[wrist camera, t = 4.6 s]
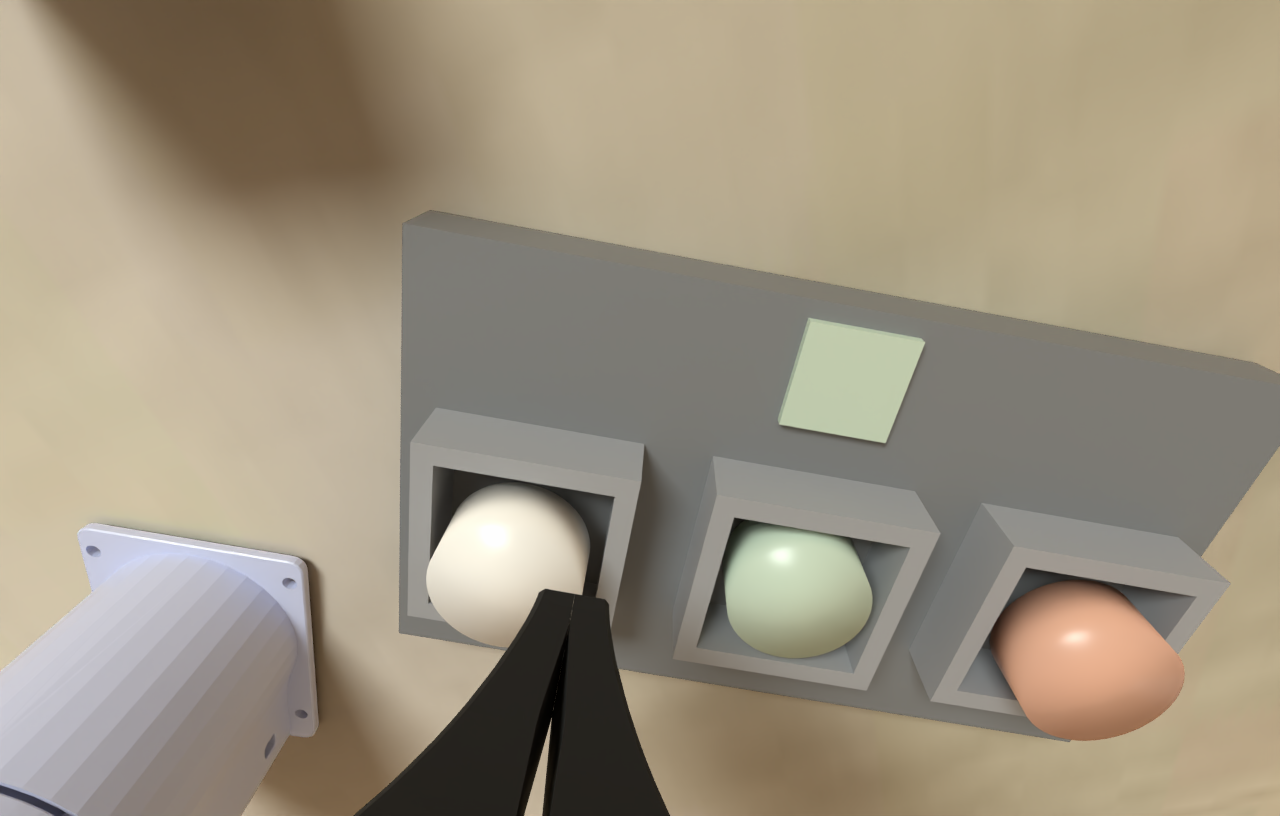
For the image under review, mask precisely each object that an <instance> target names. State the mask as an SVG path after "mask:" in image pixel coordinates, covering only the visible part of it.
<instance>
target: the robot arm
mask: <svg viewBox="0 0 1280 816" xmlns="http://www.w3.org/2000/svg"><path fill="white" fill-rule="evenodd" d="M77 536H78V541H79V545H80V548H81V552H82V556H83V560H84V563H85V567H86V571H87V575H88V578H89V582H90V586H91V589H92V593H91V594H89V595H88V596H87V597H86V598H85V599H84V600H82V601H81V602H80V603H79V604H78V605H77V606H75V607H74V608H73V609H72V610H71V611H70V612H68V613H67V614H66V615H65V616H64V617H63V618H61V619H60V620H59V621H58V622H57V623H56V624H54V625H53V626H52V627H51V628H50V629H49V630H48V631H46V632H45V633H44V634H43V635H42V636H41V637H39V638H38V639H37V640H36V641H35V642H34V643H32V644H31V645H30V646H29V647H28V648H27V649H25V650H24V651H23V652H22V653H21V654H20V655H18V656H17V657H16V658H15V659H14V660H13V661H11V662H10V663H9V664H8V665H7V666H6V667H4V668H3V669H2V670H1V671H0V816H241V815H242V814H243V812H244V810H245V809H246V807H247V805H248V804H249V802H250V800H251V799H252V797H253V795H254V794H255V792H256V790H257V789H258V787H259V785H260V784H261V782H262V780H263V778H264V777H265V775H266V773H267V772H268V770H269V768H270V767H271V765H272V763H273V762H274V760H275V758H276V757H277V755H278V753H279V752H280V750H281V748H282V747H283V745H284V743H285V742H286V740H287V738H288V737H289V735H292V736H298V737H311V736H313V735H314V734H315V732H316V731H317V729H318V726H319V719H318V705H317V691H316V678H315V664H314V650H313V636H312V622H311V608H310V595H309V581H308V568H307V565H306V564H305V562H304V561H303V560H302V559H300V558H298V557H295V556H291V555H285V554H279V553H273V552H267V551H261V550H255V549H249V548H243V547H237V546H231V545H224V544H218V543H212V542H206V541H200V540H194V539H188V538H182V537H176V536H170V535H164V534H158V533H152V532H146V531H140V530H134V529H128V528H122V527H116V526H110V525H104V524H98V523H90V524H87V525H86V526H84V527H83V528H81V529H80V530H79V532H78V533H77ZM290 578H291V579H293V580H294V581H292V580H291V579H290ZM573 602H574V603H573ZM570 618H571V619H570ZM567 634H568V635H567ZM566 639H567V640H566ZM563 655H564V656H563ZM560 671H561V672H560ZM559 676H560V677H559ZM556 692H557V693H556ZM553 708H554V709H553ZM551 718H552V722H551ZM550 722H551V732H550V742H549V753H548V763H547V773H546V784H545V794H544V804H543V815H542V816H670V814H669V812H668V810H667V808H666V806H665V804H664V801H663V799H662V797H661V795H660V792H659V790H658V788H657V785H656V783H655V781H654V778H653V776H652V773H651V771H650V768H649V766H648V763H647V761H646V758H645V756H644V753H643V750H642V748H641V745H640V742H639V739H638V736H637V733H636V730H635V727H634V724H633V721H632V718H631V715H630V712H629V708H628V705H627V701H626V698H625V694H624V690H623V686H622V682H621V679H620V675H619V671H618V666H617V662H616V657H615V652H614V646H613V641H612V634H611V626H610V615H609V604H608V602H607V601H606V600H605V599H601V598H596V597H590V596H584V595H578V594H573V593H567V592H561V591H556V590H550V589H544V590H542V591H540V592H539V593H538V596H537V598H536V601H535V603H534V605H533V607H532V609H531V611H530V613H529V615H528V617H527V619H526V620H525V622H524V624H523V625H522V627H521V629H520V630H519V632H518V634H517V635H516V637H515V638H514V640H513V641H512V643H511V644H510V646H509V647H508V649H507V650H506V652H505V653H504V655H503V656H502V657H501V659H500V660H499V662H498V663H497V665H496V666H495V668H494V669H493V670H492V672H491V673H490V674H489V676H488V677H487V678H486V679H485V681H484V682H483V683H482V684H481V686H480V687H479V688H478V690H477V691H476V692H475V693H474V695H473V696H472V697H471V698H470V700H469V701H468V702H467V703H466V705H465V706H464V707H463V708H462V709H461V710H460V712H459V713H458V714H457V715H456V716H455V717H454V719H453V720H452V721H451V722H450V723H449V724H448V725H447V726H446V728H445V729H444V730H443V731H442V732H441V733H440V734H439V735H438V736H437V737H436V738H435V740H434V741H433V742H432V743H431V744H430V745H429V746H428V747H427V748H426V749H425V750H424V751H423V752H422V753H421V754H420V755H419V756H418V757H417V758H416V759H415V760H414V761H413V762H412V763H411V764H410V765H409V766H408V767H407V768H406V769H405V770H404V771H403V772H402V773H401V774H400V775H399V776H398V777H396V778H395V779H394V780H393V781H392V782H391V783H390V784H389V785H388V786H387V787H386V788H385V789H383V790H382V791H381V792H380V793H379V794H378V795H377V796H375V797H374V798H373V799H372V800H371V801H370V802H369V803H367V804H366V805H365V806H364V807H363V808H362V809H360V810H359V811H358V812H357V813H356V814H355V815H354V816H524V813H525V810H526V806H527V803H528V799H529V796H530V792H531V789H532V785H533V782H534V778H535V774H536V771H537V767H538V764H539V760H540V757H541V753H542V750H543V746H544V743H545V739H546V736H547V732H548V729H549V725H550Z"/></svg>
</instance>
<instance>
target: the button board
mask: <svg viewBox="0 0 1280 816" xmlns="http://www.w3.org/2000/svg"><path fill="white" fill-rule="evenodd" d="M1279 446H1280V374H1278V373H1276V372H1274V371H1272V370H1270V369H1267V368H1265V367H1263V366H1261V365H1259V364H1257V363H1253V362H1247V361H1242V360H1236V359H1231V358H1226V357H1220V356H1215V355H1209V354H1204V353H1199V352H1193V351H1188V350H1182V349H1177V348H1172V347H1166V346H1161V345H1155V344H1150V343H1145V342H1139V341H1134V340H1128V339H1123V338H1118V337H1112V336H1107V335H1101V334H1096V333H1091V332H1085V331H1080V330H1074V329H1069V328H1064V327H1058V326H1053V325H1047V324H1042V323H1037V322H1031V321H1026V320H1020V319H1015V318H1010V317H1004V316H999V315H993V314H988V313H983V312H977V311H972V310H966V309H961V308H956V307H950V306H945V305H939V304H934V303H929V302H923V301H918V300H912V299H907V298H902V297H896V296H891V295H885V294H880V293H875V292H869V291H864V290H858V289H853V288H847V287H842V286H837V285H831V284H826V283H820V282H815V281H810V280H804V279H799V278H793V277H788V276H783V275H777V274H772V273H766V272H761V271H756V270H750V269H745V268H739V267H734V266H729V265H723V264H718V263H712V262H707V261H702V260H696V259H691V258H685V257H680V256H675V255H669V254H664V253H658V252H653V251H648V250H642V249H637V248H631V247H626V246H621V245H615V244H610V243H604V242H599V241H594V240H588V239H583V238H577V237H572V236H567V235H561V234H556V233H550V232H545V231H540V230H534V229H529V228H523V227H518V226H513V225H507V224H502V223H496V222H491V221H486V220H480V219H475V218H469V217H464V216H459V215H453V214H448V213H442V212H437V211H432V210H429V211H427V212H425V213H423V214H421V215H419V216H417V217H415V218H413V219H411V220H408V221H406V222H404V223H403V231H402V344H401V457H400V570H399V633H402V634H408V635H414V636H420V637H427V638H433V639H439V640H445V641H451V642H457V643H463V644H470V645H476V646H482V647H488V648H494V649H500V650H507V649H508V648H506V647H497V646H493V645H488V644H485V643H482V642H479V641H476V640H474V639H471V638H469V637H467V636H466V635H464V634H462V633H460V632H459V631H457V630H456V629H454V628H453V627H452V626H451V625H450V624H448V623H447V622H446V621H445V620H444V619H443V618H442V617H441V616H440V614H439V613H438V612H437V610H436V609H435V607H434V605H433V604H432V602H431V599H430V597H429V594H428V590H427V585H426V575H427V569H428V565H429V562H430V560H431V558H432V556H433V554H434V552H435V550H436V549H437V547H438V545H439V543H440V541H441V539H442V537H443V535H444V533H445V531H446V529H447V527H448V525H449V524H450V522H451V520H452V518H453V516H454V514H455V512H456V510H457V508H458V507H459V506H460V504H461V503H462V502H463V501H464V500H465V499H466V498H467V497H468V496H470V495H471V494H472V493H474V492H476V491H478V490H480V489H482V488H484V487H487V486H490V485H494V484H498V483H507V482H517V483H526V484H531V485H535V486H538V487H541V488H544V489H547V490H549V491H551V492H553V493H555V494H557V495H558V496H560V497H561V498H563V499H564V500H565V501H567V502H568V503H569V504H570V505H571V506H572V507H573V508H574V509H575V510H576V511H577V512H578V514H579V515H580V516H581V518H582V520H583V521H584V523H585V525H586V528H587V530H588V534H589V538H590V554H589V560H588V565H587V571H586V576H585V582H584V587H583V593H582V595H584V596H590V597H596V598H601V599H605V600H606V601H607V602H608V604H609V615H610V626H611V634H612V641H613V646H614V652H615V657H616V662H617V666H618V669H623V670H629V671H635V672H642V673H648V674H654V675H660V676H666V677H672V678H678V679H685V680H691V681H697V682H703V683H709V684H715V685H722V686H728V687H734V688H740V689H746V690H752V691H758V692H765V693H771V694H777V695H783V696H789V697H795V698H801V699H808V700H814V701H820V702H826V703H832V704H838V705H844V706H851V707H857V708H863V709H869V710H875V711H881V712H887V713H894V714H900V715H906V716H912V717H918V718H924V719H930V720H937V721H943V722H949V723H955V724H961V725H967V726H973V727H980V728H986V729H992V730H998V731H1004V732H1010V733H1016V734H1023V735H1029V736H1035V737H1041V738H1047V739H1053V740H1059V741H1066V742H1070V741H1071V740H1069V739H1063V738H1059V737H1055V736H1052V735H1050V734H1048V733H1045V732H1043V731H1042V730H1040V729H1039V728H1037V727H1036V726H1035V725H1034V724H1032V723H1031V721H1030V720H1029V719H1028V718H1027V716H1026V714H1025V712H1024V711H1023V709H1022V707H1021V705H1020V704H1019V702H1018V700H1017V698H1016V696H1015V695H1014V693H1013V691H1012V689H1011V688H1010V686H1009V684H1008V682H1007V681H1006V679H1005V677H1004V675H1003V673H1002V672H1001V670H1000V668H999V666H998V665H997V663H996V661H995V659H994V657H993V655H992V653H991V649H990V634H991V631H992V628H993V626H994V624H995V622H996V620H997V619H998V617H999V616H1000V614H1001V613H1002V612H1003V611H1004V610H1005V609H1006V608H1007V607H1008V606H1009V605H1010V604H1011V603H1012V602H1014V601H1015V600H1016V599H1018V598H1019V597H1021V596H1023V595H1024V594H1026V593H1028V592H1030V591H1032V590H1034V589H1036V588H1039V587H1042V586H1044V585H1047V584H1051V583H1055V582H1060V581H1067V580H1090V581H1096V582H1101V583H1104V584H1107V585H1110V586H1112V587H1114V588H1115V589H1117V590H1119V591H1120V592H1121V593H1123V594H1124V595H1125V596H1126V597H1127V598H1128V599H1129V601H1130V602H1131V603H1132V604H1133V605H1134V606H1135V607H1136V608H1137V609H1138V611H1139V612H1140V613H1141V614H1142V615H1143V616H1144V617H1145V618H1146V620H1147V621H1148V622H1149V623H1150V624H1151V625H1152V626H1153V627H1154V628H1155V630H1156V631H1157V632H1158V633H1159V634H1160V635H1161V636H1162V637H1163V638H1164V640H1165V641H1166V642H1167V643H1168V644H1169V645H1170V646H1171V647H1172V649H1173V650H1174V651H1175V652H1176V653H1177V654H1178V653H1179V652H1180V650H1181V649H1182V648H1183V646H1184V645H1185V644H1186V642H1187V641H1188V640H1189V638H1190V637H1191V636H1192V634H1193V633H1194V632H1195V631H1196V629H1197V628H1198V627H1199V625H1200V624H1201V623H1202V621H1203V620H1204V619H1205V617H1206V616H1207V615H1208V613H1209V612H1210V611H1211V609H1212V608H1213V607H1214V605H1215V604H1216V603H1217V601H1218V600H1219V599H1220V597H1221V596H1222V595H1223V593H1224V592H1225V591H1226V589H1227V588H1228V587H1229V585H1230V584H1231V583H1230V582H1228V581H1227V580H1226V579H1225V578H1224V577H1223V576H1222V575H1220V574H1219V573H1218V572H1217V571H1216V570H1215V569H1214V568H1213V567H1211V566H1210V565H1209V564H1208V563H1207V562H1206V561H1205V560H1203V559H1202V558H1201V556H1202V554H1203V553H1204V552H1205V550H1206V549H1207V547H1208V546H1209V545H1210V543H1211V542H1212V540H1213V539H1214V538H1215V536H1216V535H1217V533H1218V532H1219V530H1220V529H1221V528H1222V526H1223V525H1224V523H1225V522H1226V521H1227V519H1228V518H1229V516H1230V515H1231V514H1232V512H1233V511H1234V509H1235V508H1236V507H1237V505H1238V504H1239V502H1240V501H1241V499H1242V498H1243V497H1244V495H1245V494H1246V492H1247V491H1248V490H1249V488H1250V487H1251V485H1252V484H1253V483H1254V481H1255V480H1256V478H1257V477H1258V476H1259V474H1260V473H1261V471H1262V470H1263V468H1264V467H1265V466H1266V464H1267V463H1268V461H1269V460H1270V459H1271V457H1272V456H1273V454H1274V453H1275V452H1276V450H1277V449H1278V447H1279ZM746 519H747V520H752V521H758V522H764V523H770V524H776V525H782V526H787V527H793V528H799V529H805V530H811V531H817V532H822V533H828V534H834V535H840V536H846V537H851V539H852V542H853V544H854V547H855V549H856V552H857V554H858V557H859V559H860V562H861V564H862V567H863V569H864V572H865V574H866V577H867V579H868V582H869V585H870V587H871V591H872V609H871V613H870V615H869V618H868V620H867V622H866V624H865V625H864V627H863V628H862V629H861V631H860V632H859V633H858V634H857V635H856V636H855V637H854V638H852V639H851V640H850V641H849V642H847V643H846V644H844V645H843V646H841V647H839V648H837V649H835V650H833V651H830V652H828V653H825V654H821V655H818V656H813V657H807V658H784V657H778V656H773V655H769V654H766V653H763V652H761V651H759V650H757V649H755V648H753V647H751V646H750V645H748V644H747V643H746V642H744V641H743V640H742V639H741V638H740V637H739V636H738V635H737V634H736V632H735V631H734V629H733V628H732V626H731V624H730V621H729V618H728V614H727V606H726V596H725V586H724V576H723V567H722V558H723V554H724V551H725V547H726V544H727V540H728V538H729V536H730V535H731V533H732V532H733V531H734V529H735V528H736V527H737V526H738V525H739V524H740V523H742V522H743V521H744V520H746ZM567 635H568V634H567ZM566 640H567V639H566ZM563 656H564V655H563Z"/></svg>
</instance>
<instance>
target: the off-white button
mask: <svg viewBox="0 0 1280 816" xmlns="http://www.w3.org/2000/svg"><path fill="white" fill-rule="evenodd" d="M589 554H590V538H589V534H588V530H587V528H586V525H585V523H584V521H583V520H582V518H581V516H580V515H579V514H578V512H577V511H576V510H575V509H574V508H573V507H572V506H571V505H570V504H569V503H568V502H567V501H565V500H564V499H563V498H561V497H560V496H558V495H557V494H555V493H553V492H551V491H549V490H547V489H544V488H541V487H538V486H535V485H531V484H526V483H517V482H507V483H498V484H494V485H490V486H487V487H484V488H482V489H480V490H478V491H476V492H474V493H472V494H471V495H470V496H468V497H467V498H466V499H465V500H464V501H463V502H462V503H461V504H460V506H459V507H458V508H457V510H456V512H455V514H454V516H453V518H452V520H451V522H450V524H449V525H448V527H447V529H446V531H445V533H444V535H443V537H442V539H441V541H440V543H439V545H438V547H437V549H436V550H435V552H434V554H433V556H432V558H431V560H430V562H429V565H428V569H427V575H426V585H427V590H428V594H429V597H430V599H431V602H432V604H433V605H434V607H435V609H436V610H437V612H438V613H439V614H440V616H441V617H442V618H443V619H444V620H445V621H446V622H447V623H448V624H450V625H451V626H452V627H453V628H454V629H456V630H457V631H459V632H460V633H462V634H464V635H466V636H467V637H469V638H471V639H474V640H476V641H479V642H482V643H485V644H488V645H493V646H497V647H506V648H508V647H509V646H510V644H511V643H512V641H513V640H514V638H515V637H516V635H517V634H518V632H519V630H520V629H521V627H522V625H523V624H524V622H525V620H526V619H527V617H528V615H529V613H530V611H531V609H532V607H533V605H534V603H535V601H536V598H537V596H538V593H539V592H540V591H542V590H544V589H550V590H556V591H561V592H567V593H573V594H578V595H582V593H583V587H584V582H585V576H586V571H587V565H588V560H589ZM573 603H574V602H573ZM570 619H571V618H570Z"/></svg>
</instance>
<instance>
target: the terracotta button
mask: <svg viewBox="0 0 1280 816" xmlns="http://www.w3.org/2000/svg"><path fill="white" fill-rule="evenodd" d="M990 649H991V653H992V655H993V657H994V659H995V661H996V663H997V665H998V666H999V668H1000V670H1001V672H1002V673H1003V675H1004V677H1005V679H1006V681H1007V682H1008V684H1009V686H1010V688H1011V689H1012V691H1013V693H1014V695H1015V696H1016V698H1017V700H1018V702H1019V704H1020V705H1021V707H1022V709H1023V711H1024V712H1025V714H1026V716H1027V718H1028V719H1029V720H1030V721H1031V723H1032V724H1034V725H1035V726H1036V727H1037V728H1039V729H1040V730H1042V731H1043V732H1045V733H1048V734H1050V735H1052V736H1055V737H1059V738H1063V739H1069V740H1083V741H1087V740H1100V739H1107V738H1111V737H1116V736H1119V735H1122V734H1126V733H1128V732H1131V731H1134V730H1136V729H1138V728H1140V727H1142V726H1144V725H1146V724H1148V723H1149V722H1151V721H1153V720H1154V719H1156V718H1157V717H1158V716H1160V715H1161V714H1162V713H1163V712H1165V711H1166V710H1167V709H1168V708H1169V707H1170V706H1171V705H1172V703H1173V702H1174V701H1175V700H1176V698H1177V697H1178V695H1179V693H1180V691H1181V689H1182V686H1183V683H1184V676H1185V672H1184V666H1183V663H1182V660H1181V659H1180V657H1179V656H1178V654H1177V653H1176V652H1175V651H1174V650H1173V649H1172V647H1171V646H1170V645H1169V644H1168V643H1167V642H1166V641H1165V640H1164V638H1163V637H1162V636H1161V635H1160V634H1159V633H1158V632H1157V631H1156V630H1155V628H1154V627H1153V626H1152V625H1151V624H1150V623H1149V622H1148V621H1147V620H1146V618H1145V617H1144V616H1143V615H1142V614H1141V613H1140V612H1139V611H1138V609H1137V608H1136V607H1135V606H1134V605H1133V604H1132V603H1131V602H1130V601H1129V599H1128V598H1127V597H1126V596H1125V595H1124V594H1123V593H1121V592H1120V591H1119V590H1117V589H1115V588H1114V587H1112V586H1110V585H1107V584H1104V583H1101V582H1096V581H1090V580H1067V581H1060V582H1055V583H1051V584H1047V585H1044V586H1042V587H1039V588H1036V589H1034V590H1032V591H1030V592H1028V593H1026V594H1024V595H1023V596H1021V597H1019V598H1018V599H1016V600H1015V601H1014V602H1012V603H1011V604H1010V605H1009V606H1008V607H1007V608H1006V609H1005V610H1004V611H1003V612H1002V613H1001V614H1000V616H999V617H998V619H997V620H996V622H995V624H994V626H993V628H992V631H991V634H990Z"/></svg>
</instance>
